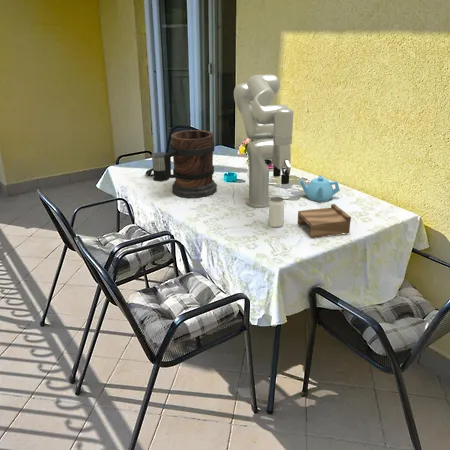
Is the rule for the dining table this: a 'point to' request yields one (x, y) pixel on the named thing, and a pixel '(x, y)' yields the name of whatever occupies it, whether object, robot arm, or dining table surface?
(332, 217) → the shelf
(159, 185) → the dining table surface
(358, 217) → the dining table surface
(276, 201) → the can
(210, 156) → the wooden tankard
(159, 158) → the milk frother
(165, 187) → the dining table surface
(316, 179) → the teapot
